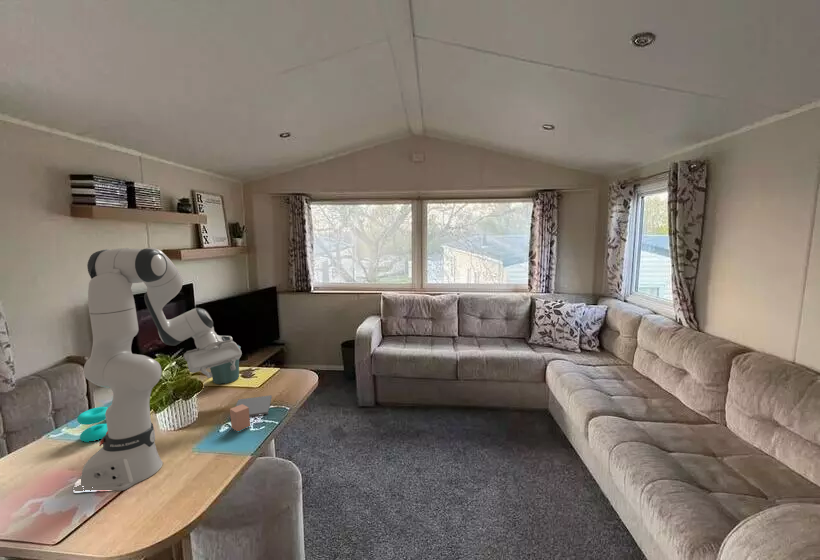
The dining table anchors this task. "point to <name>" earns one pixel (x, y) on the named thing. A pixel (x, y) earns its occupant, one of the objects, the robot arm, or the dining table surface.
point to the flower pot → (225, 372)
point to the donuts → (92, 418)
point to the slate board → (256, 404)
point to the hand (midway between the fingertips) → (222, 373)
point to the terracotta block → (239, 417)
